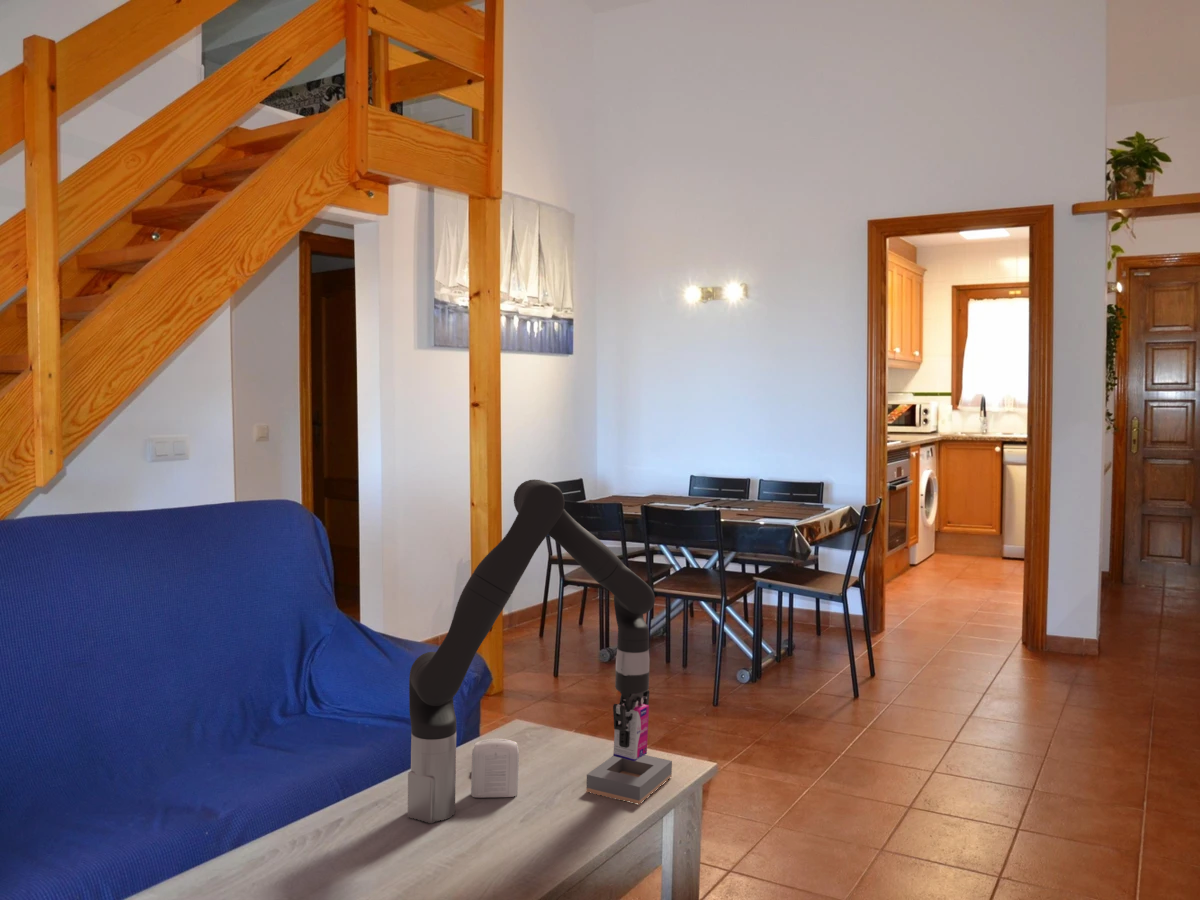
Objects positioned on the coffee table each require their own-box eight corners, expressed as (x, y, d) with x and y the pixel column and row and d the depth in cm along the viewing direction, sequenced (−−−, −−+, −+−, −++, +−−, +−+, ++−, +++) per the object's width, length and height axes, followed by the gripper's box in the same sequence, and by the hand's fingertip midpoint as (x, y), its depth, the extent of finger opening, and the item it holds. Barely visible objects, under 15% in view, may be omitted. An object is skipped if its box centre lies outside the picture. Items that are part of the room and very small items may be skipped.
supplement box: (635, 762, 215) (636, 711, 214) (612, 756, 218) (613, 706, 217) (648, 754, 220) (649, 704, 219) (625, 748, 223) (626, 699, 222)
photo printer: (517, 790, 215) (518, 735, 214) (518, 798, 211) (519, 742, 210) (470, 791, 214) (471, 736, 213) (471, 799, 210) (471, 743, 209)
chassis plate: (639, 805, 209) (639, 787, 208) (586, 792, 215) (586, 774, 215) (671, 777, 224) (671, 760, 223) (621, 766, 230) (621, 749, 230)
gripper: (631, 658, 226) (629, 729, 227) (602, 674, 213) (600, 749, 214) (661, 663, 222) (659, 735, 223) (633, 679, 209) (631, 755, 210)
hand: (630, 741), depth 219 cm, fingers closed on supplement box, 6 cm apart
